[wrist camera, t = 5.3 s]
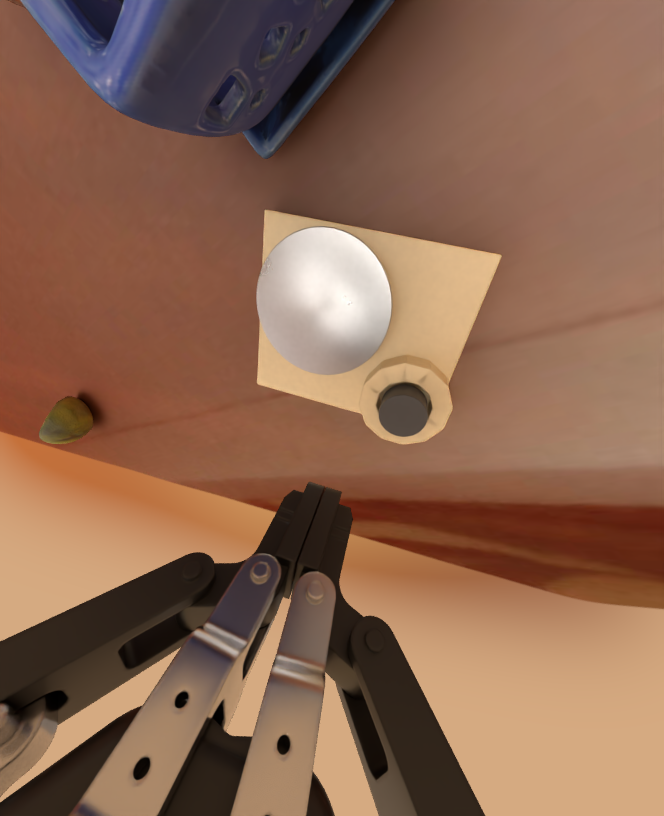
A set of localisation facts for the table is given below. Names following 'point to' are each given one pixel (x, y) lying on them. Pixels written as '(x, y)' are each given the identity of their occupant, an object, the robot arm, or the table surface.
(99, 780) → the robot arm
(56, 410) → the lime
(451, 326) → the scale
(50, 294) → the table surface
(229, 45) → the flower pot
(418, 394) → the tare button
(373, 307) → the weighing plate
